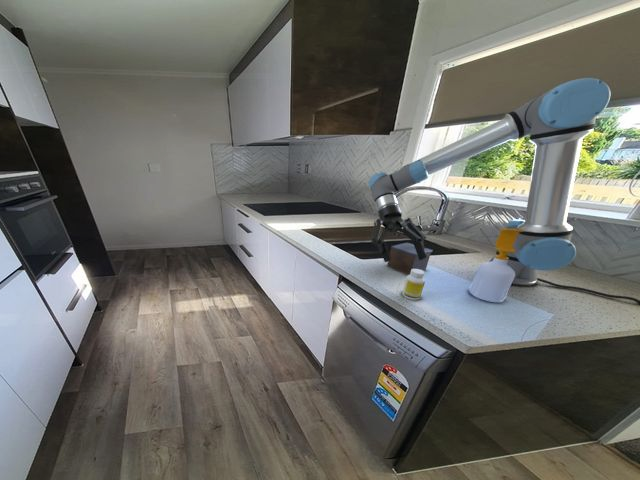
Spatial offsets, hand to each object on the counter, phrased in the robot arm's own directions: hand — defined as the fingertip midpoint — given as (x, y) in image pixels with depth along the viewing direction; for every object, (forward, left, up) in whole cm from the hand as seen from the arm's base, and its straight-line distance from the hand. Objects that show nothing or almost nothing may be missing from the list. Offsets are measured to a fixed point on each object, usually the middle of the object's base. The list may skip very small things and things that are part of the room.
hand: (405, 259), depth 86 cm
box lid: (+9, -18, -2) cm, 20 cm away
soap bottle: (-18, -21, -11) cm, 30 cm away
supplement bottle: (-6, +2, -11) cm, 13 cm away
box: (+9, -18, -11) cm, 23 cm away
